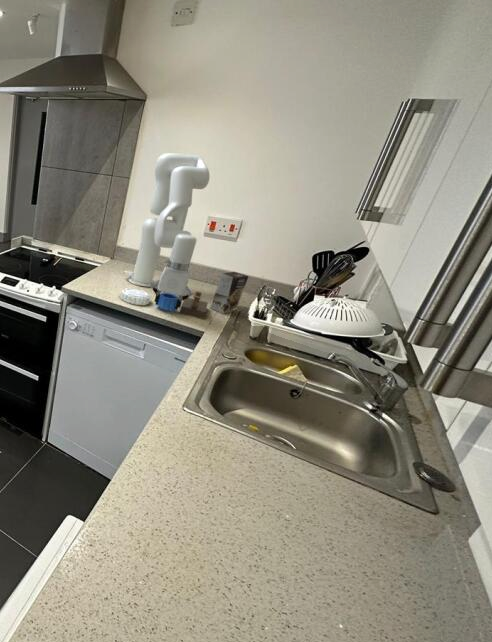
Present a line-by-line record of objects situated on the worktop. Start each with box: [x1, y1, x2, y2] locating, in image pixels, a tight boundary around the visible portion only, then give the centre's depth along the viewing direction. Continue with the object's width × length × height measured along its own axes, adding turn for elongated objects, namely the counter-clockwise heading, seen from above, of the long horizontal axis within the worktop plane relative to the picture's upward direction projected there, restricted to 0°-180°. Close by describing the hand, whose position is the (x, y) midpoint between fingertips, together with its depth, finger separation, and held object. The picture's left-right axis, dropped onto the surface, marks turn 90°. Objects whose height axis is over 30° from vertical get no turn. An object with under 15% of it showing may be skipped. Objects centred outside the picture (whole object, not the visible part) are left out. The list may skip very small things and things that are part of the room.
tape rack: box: [179, 290, 209, 320], centre depth 163 cm, size 9×13×8 cm
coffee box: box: [209, 271, 249, 314], centre depth 165 cm, size 9×6×16 cm
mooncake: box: [120, 287, 151, 306], centre depth 170 cm, size 12×12×4 cm
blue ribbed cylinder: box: [156, 292, 179, 312], centre depth 162 cm, size 7×7×5 cm
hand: (166, 305), depth 163 cm, fingers closed on blue ribbed cylinder, 7 cm apart
